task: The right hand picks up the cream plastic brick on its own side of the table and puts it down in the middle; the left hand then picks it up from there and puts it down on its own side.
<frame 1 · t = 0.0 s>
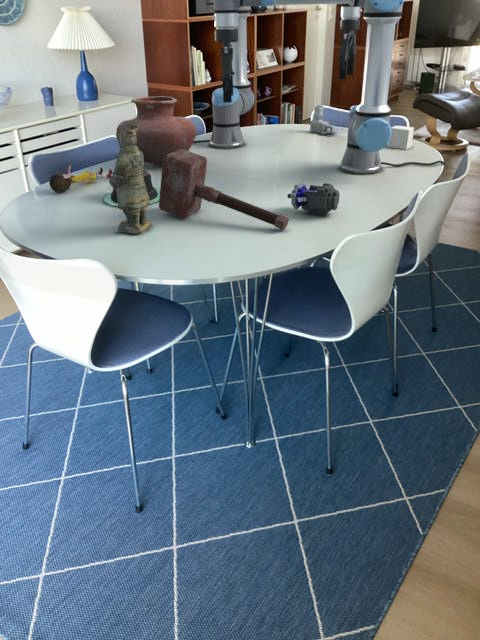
left hand: (346, 77, 230), 28 cm above the table, tool pointing down, fingers open, 13 cm apart
right hand: (228, 99, 188), 28 cm above the table, tool pointing down, fingers open, 13 cm apart
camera: (324, 133, 266), on the table
figurine: (82, 185, 201), on the table
chocolate cake: (134, 197, 187), on the table
statue: (134, 229, 162), on the table
brick: (399, 147, 240), on the table
sledgehammer: (224, 220, 166), on the table
clay pot: (159, 164, 224), on the table
toy: (312, 213, 171), on the table
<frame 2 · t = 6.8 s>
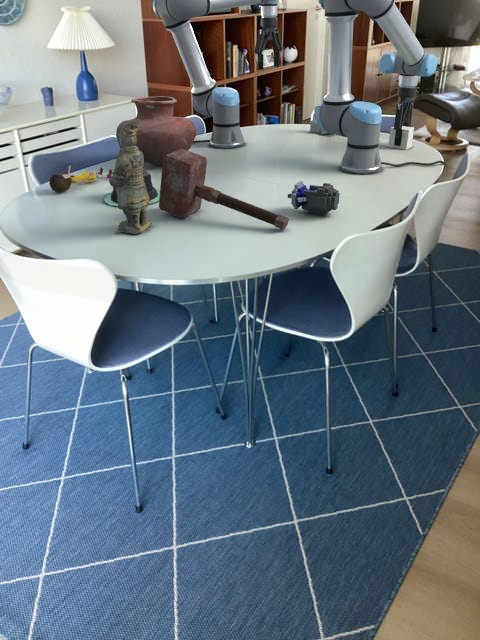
left hand: (268, 68, 261), 28 cm above the table, tool pointing down, fingers open, 13 cm apart
right hand: (400, 143, 240), 1 cm above the table, tool pointing down, fingers closed on brick, 6 cm apart
brick: (399, 147, 240), on the table, touching right hand
everything else where it was.
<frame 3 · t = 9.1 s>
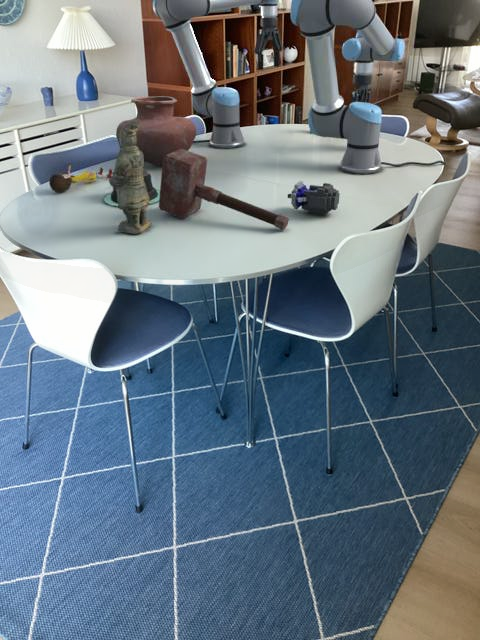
left hand: (268, 68, 261), 28 cm above the table, tool pointing down, fingers open, 13 cm apart
right hand: (357, 133, 235), 7 cm above the table, tool pointing down, fingers closed on brick, 6 cm apart
brick: (357, 136, 236), point 5 cm above the table, touching right hand
everything else where it was.
when the right hand's fingers open (3 cm above the table, at t = 11.8 s): brick drops 1 cm, on the table.
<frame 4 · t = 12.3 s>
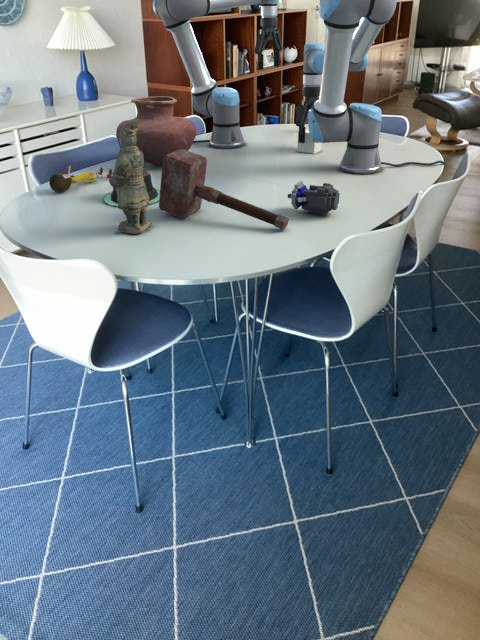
left hand: (268, 68, 261), 28 cm above the table, tool pointing down, fingers open, 13 cm apart
right hand: (309, 139, 235), 5 cm above the table, tool pointing down, fingers open, 13 cm apart
brick: (309, 151, 237), on the table
everything else where it was.
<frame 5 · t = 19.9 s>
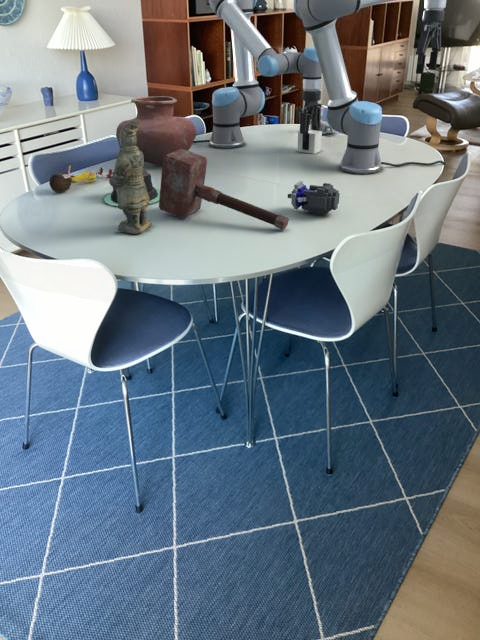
left hand: (309, 147, 237), 1 cm above the table, tool pointing down, fingers closed on brick, 6 cm apart
right hand: (425, 71, 216), 31 cm above the table, tool pointing down, fingers open, 13 cm apart
brick: (309, 151, 237), on the table, touching left hand
everything else where it was.
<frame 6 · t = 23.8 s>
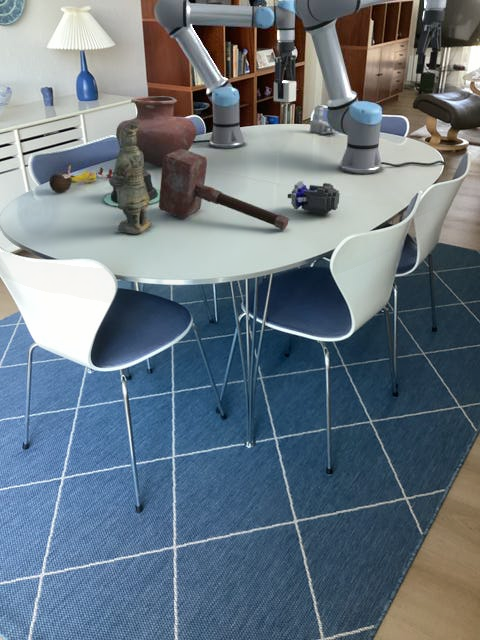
left hand: (284, 97, 253), 17 cm above the table, tool pointing down, fingers closed on brick, 6 cm apart
right hand: (425, 71, 216), 31 cm above the table, tool pointing down, fingers open, 13 cm apart
brick: (284, 100, 254), point 16 cm above the table, touching left hand
everything else where it was.
when the left hand's fingers open (3 cm above the table, at t = 28.1 s): brick drops 1 cm, on the table.
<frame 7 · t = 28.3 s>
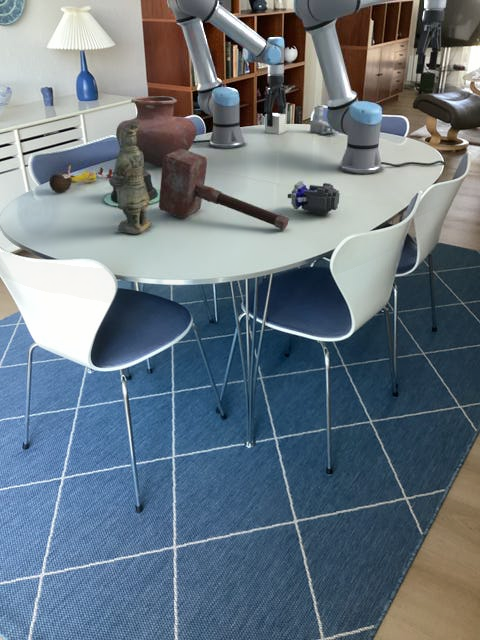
left hand: (275, 124, 270), 3 cm above the table, tool pointing down, fingers open, 9 cm apart
right hand: (425, 71, 216), 31 cm above the table, tool pointing down, fingers open, 13 cm apart
brick: (275, 131, 272), on the table
everything else where it was.
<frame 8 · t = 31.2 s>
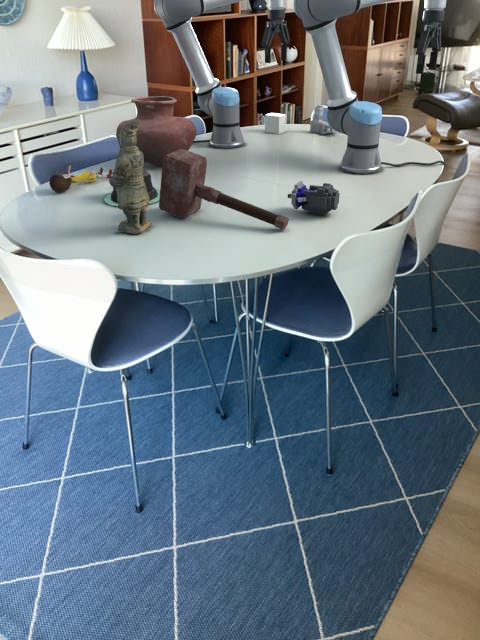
left hand: (275, 61, 256), 31 cm above the table, tool pointing down, fingers open, 13 cm apart
right hand: (425, 71, 216), 31 cm above the table, tool pointing down, fingers open, 13 cm apart
nothing on the table moved.
at the end: brick inside the target area (0.0 cm from its centre), on the table; brick tilted 0°; the two hands never held the brick at the same time; the left hand is holding nothing; the right hand is holding nothing; brick at rest at the end (0.0 cm/s) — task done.
